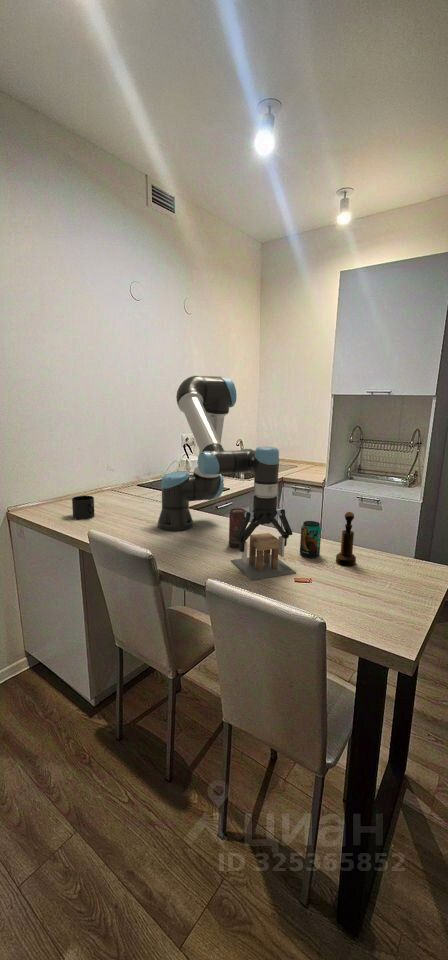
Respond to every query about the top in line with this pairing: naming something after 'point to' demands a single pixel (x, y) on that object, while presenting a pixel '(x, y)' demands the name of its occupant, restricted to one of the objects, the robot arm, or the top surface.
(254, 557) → the stool
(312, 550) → the beverage can
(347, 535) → the dark brown chess piece
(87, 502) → the mug
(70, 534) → the top surface
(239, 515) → the can
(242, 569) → the mat
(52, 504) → the top surface
